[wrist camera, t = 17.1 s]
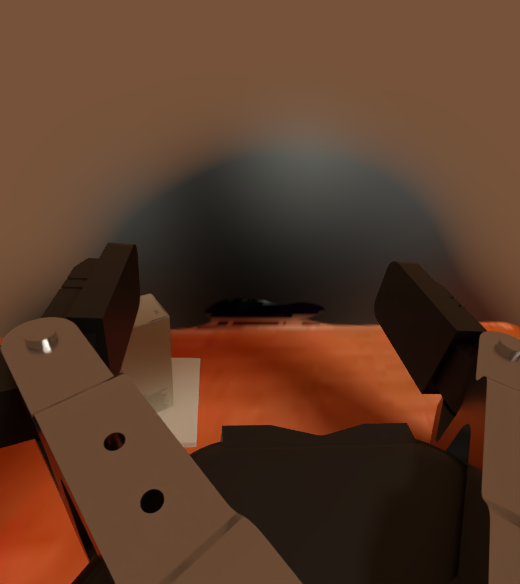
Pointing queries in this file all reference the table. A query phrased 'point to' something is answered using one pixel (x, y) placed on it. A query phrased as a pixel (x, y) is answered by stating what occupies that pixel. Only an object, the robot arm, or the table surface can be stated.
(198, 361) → the board
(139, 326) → the box
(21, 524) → the table surface
